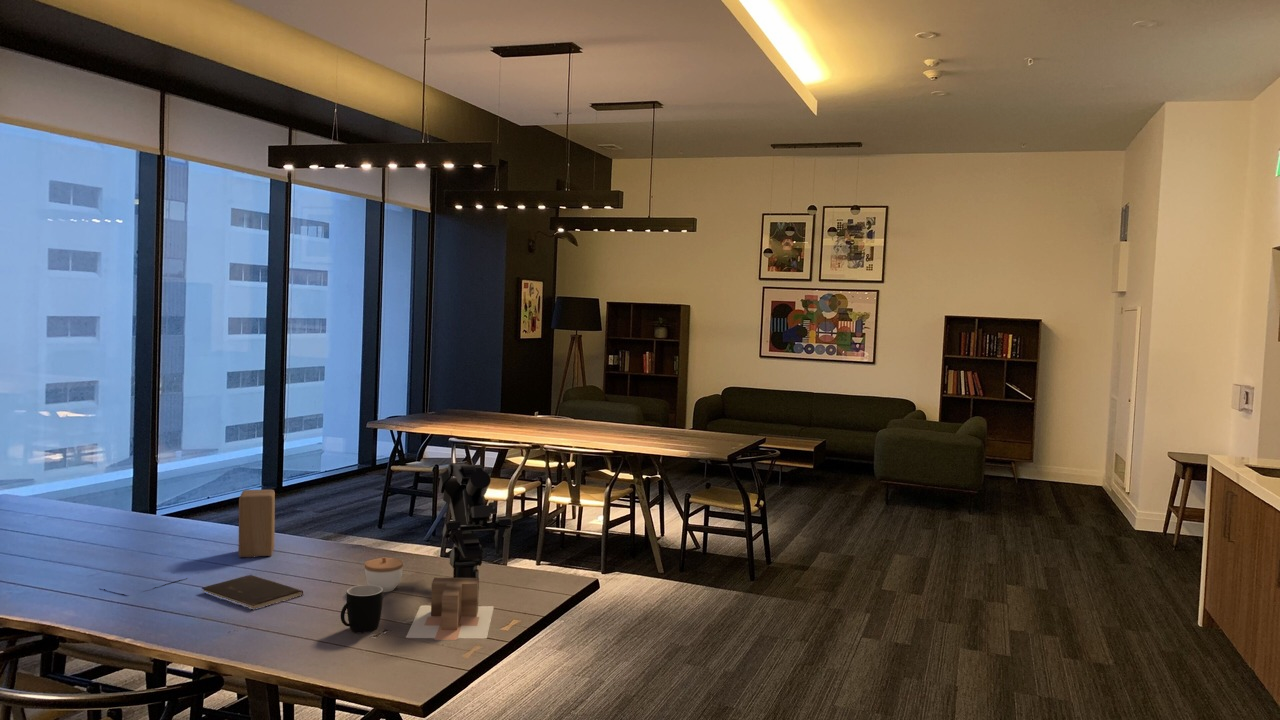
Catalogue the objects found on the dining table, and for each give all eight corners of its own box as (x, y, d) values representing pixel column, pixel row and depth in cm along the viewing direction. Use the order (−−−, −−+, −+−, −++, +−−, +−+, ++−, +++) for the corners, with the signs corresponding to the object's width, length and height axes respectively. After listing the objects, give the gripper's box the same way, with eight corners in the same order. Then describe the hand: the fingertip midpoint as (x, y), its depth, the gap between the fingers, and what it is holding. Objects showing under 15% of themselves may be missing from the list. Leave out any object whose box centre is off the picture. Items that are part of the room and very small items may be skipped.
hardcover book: (253, 613, 248) (253, 604, 248) (201, 595, 260) (201, 587, 260) (303, 597, 262) (303, 589, 261) (252, 581, 274) (252, 574, 274)
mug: (365, 620, 244) (365, 582, 244) (389, 627, 240) (390, 589, 239) (328, 633, 234) (329, 594, 233) (353, 641, 229) (354, 601, 229)
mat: (486, 641, 233) (486, 640, 233) (404, 640, 231) (404, 639, 231) (494, 607, 258) (494, 606, 258) (420, 606, 256) (420, 605, 256)
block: (241, 550, 303) (242, 489, 302) (274, 548, 306) (275, 488, 305) (238, 558, 294) (238, 496, 293) (272, 557, 297) (272, 495, 296)
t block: (472, 630, 239) (473, 595, 238) (425, 629, 238) (426, 595, 238) (478, 610, 254) (479, 578, 253) (433, 609, 253) (434, 577, 252)
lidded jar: (356, 590, 268) (356, 558, 267) (382, 581, 277) (383, 550, 276) (384, 597, 263) (385, 564, 262) (410, 587, 272) (411, 556, 271)
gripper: (446, 493, 255) (452, 546, 247) (513, 490, 262) (521, 541, 254) (440, 511, 264) (445, 563, 255) (504, 508, 271) (512, 558, 263)
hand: (481, 556), depth 257 cm, fingers open, 9 cm apart
